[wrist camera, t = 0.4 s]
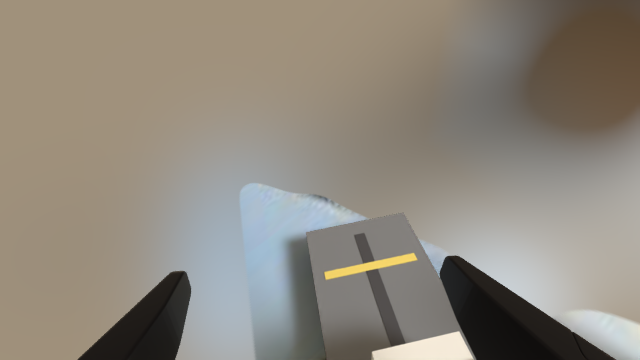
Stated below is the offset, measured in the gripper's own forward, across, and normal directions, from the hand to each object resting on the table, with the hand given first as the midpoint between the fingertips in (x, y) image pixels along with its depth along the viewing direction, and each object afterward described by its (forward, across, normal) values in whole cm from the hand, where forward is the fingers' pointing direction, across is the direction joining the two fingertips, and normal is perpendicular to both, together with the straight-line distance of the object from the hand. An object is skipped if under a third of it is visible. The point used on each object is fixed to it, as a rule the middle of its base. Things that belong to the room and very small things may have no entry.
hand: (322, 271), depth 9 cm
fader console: (+6, -6, +14) cm, 16 cm away
